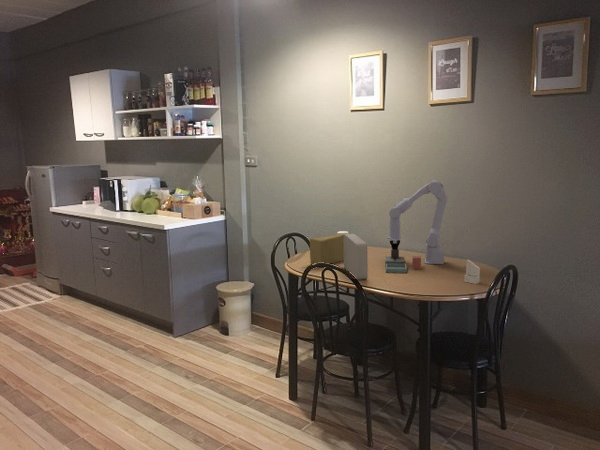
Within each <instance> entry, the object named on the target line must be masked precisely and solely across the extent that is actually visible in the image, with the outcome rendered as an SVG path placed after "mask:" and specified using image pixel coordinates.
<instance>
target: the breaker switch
mask: <svg viewBox="0 0 600 450" xmlns="http://www.w3.org/2000/svg"><path fill="white" fill-rule="evenodd" d="M399 254H400V249H398V250H395V249H392V248H391V249H390V257H391V258H399V257H400V255H399Z"/></svg>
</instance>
